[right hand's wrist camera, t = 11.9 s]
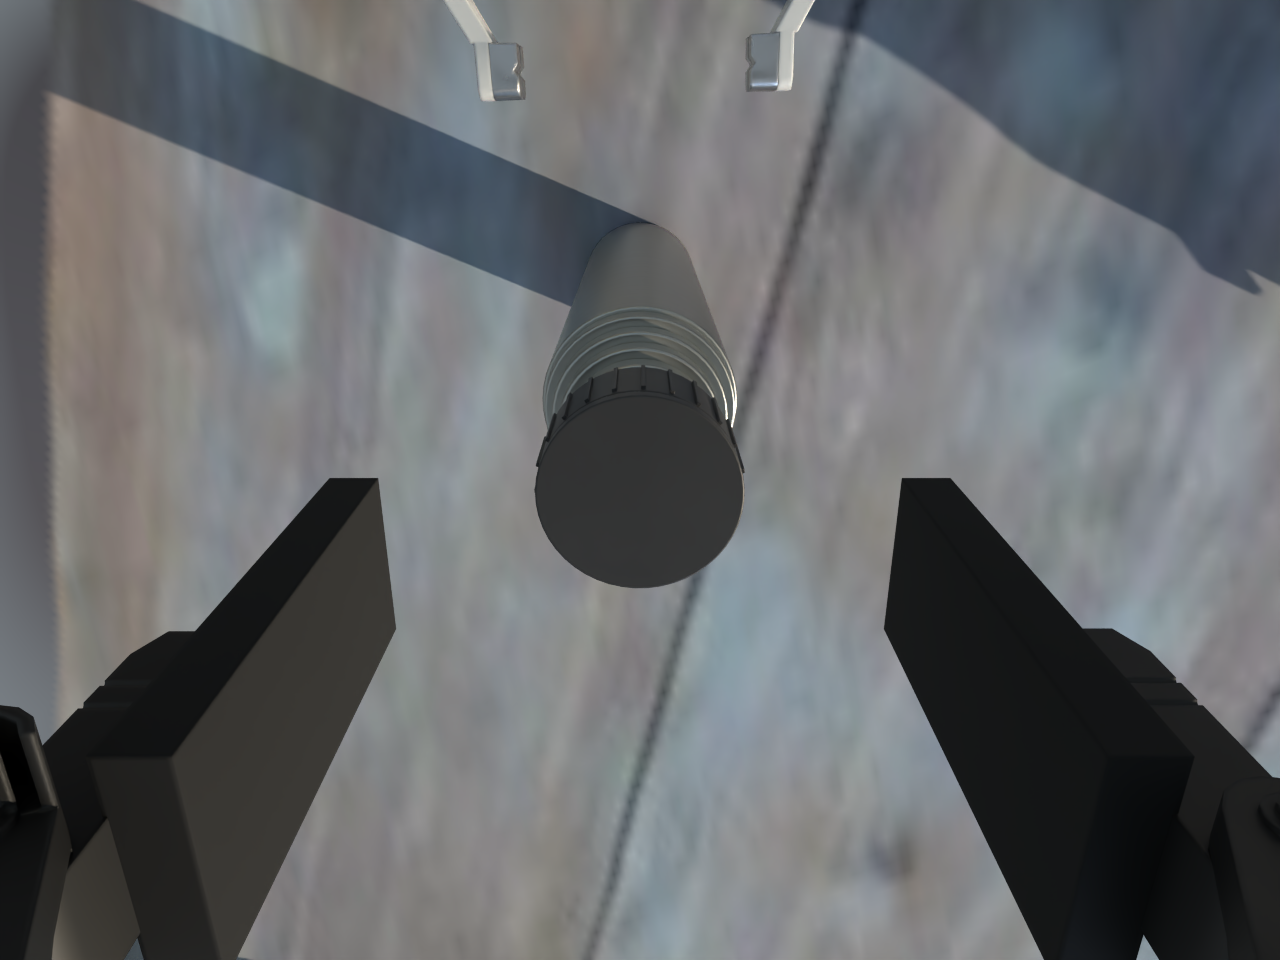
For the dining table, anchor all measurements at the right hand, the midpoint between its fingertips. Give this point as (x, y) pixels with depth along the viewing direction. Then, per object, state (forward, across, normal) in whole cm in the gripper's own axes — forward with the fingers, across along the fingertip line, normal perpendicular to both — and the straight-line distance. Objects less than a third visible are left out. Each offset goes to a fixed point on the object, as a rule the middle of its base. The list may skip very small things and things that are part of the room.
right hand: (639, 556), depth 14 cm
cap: (+3, 0, 0) cm, 3 cm away
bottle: (+28, 0, 0) cm, 28 cm away
